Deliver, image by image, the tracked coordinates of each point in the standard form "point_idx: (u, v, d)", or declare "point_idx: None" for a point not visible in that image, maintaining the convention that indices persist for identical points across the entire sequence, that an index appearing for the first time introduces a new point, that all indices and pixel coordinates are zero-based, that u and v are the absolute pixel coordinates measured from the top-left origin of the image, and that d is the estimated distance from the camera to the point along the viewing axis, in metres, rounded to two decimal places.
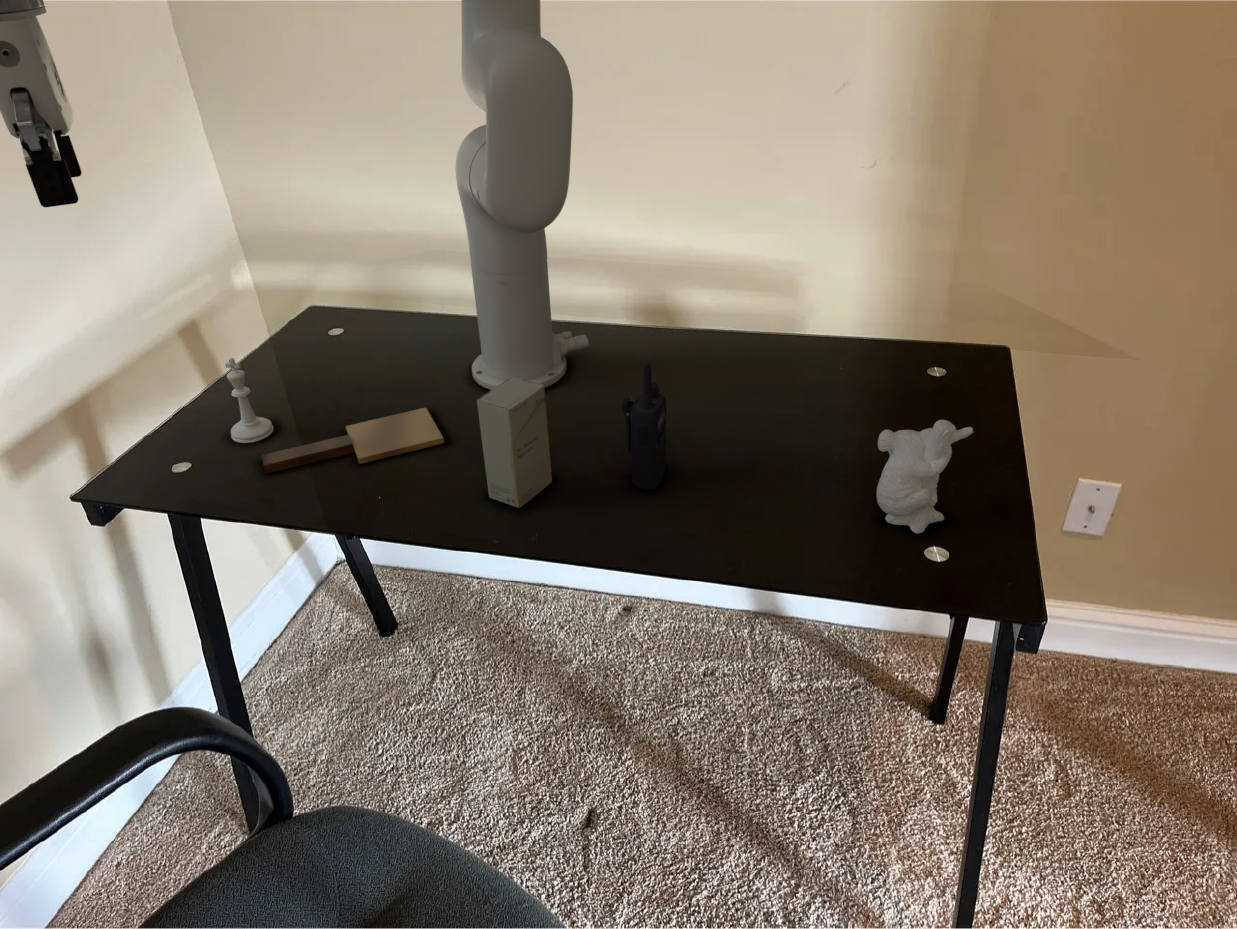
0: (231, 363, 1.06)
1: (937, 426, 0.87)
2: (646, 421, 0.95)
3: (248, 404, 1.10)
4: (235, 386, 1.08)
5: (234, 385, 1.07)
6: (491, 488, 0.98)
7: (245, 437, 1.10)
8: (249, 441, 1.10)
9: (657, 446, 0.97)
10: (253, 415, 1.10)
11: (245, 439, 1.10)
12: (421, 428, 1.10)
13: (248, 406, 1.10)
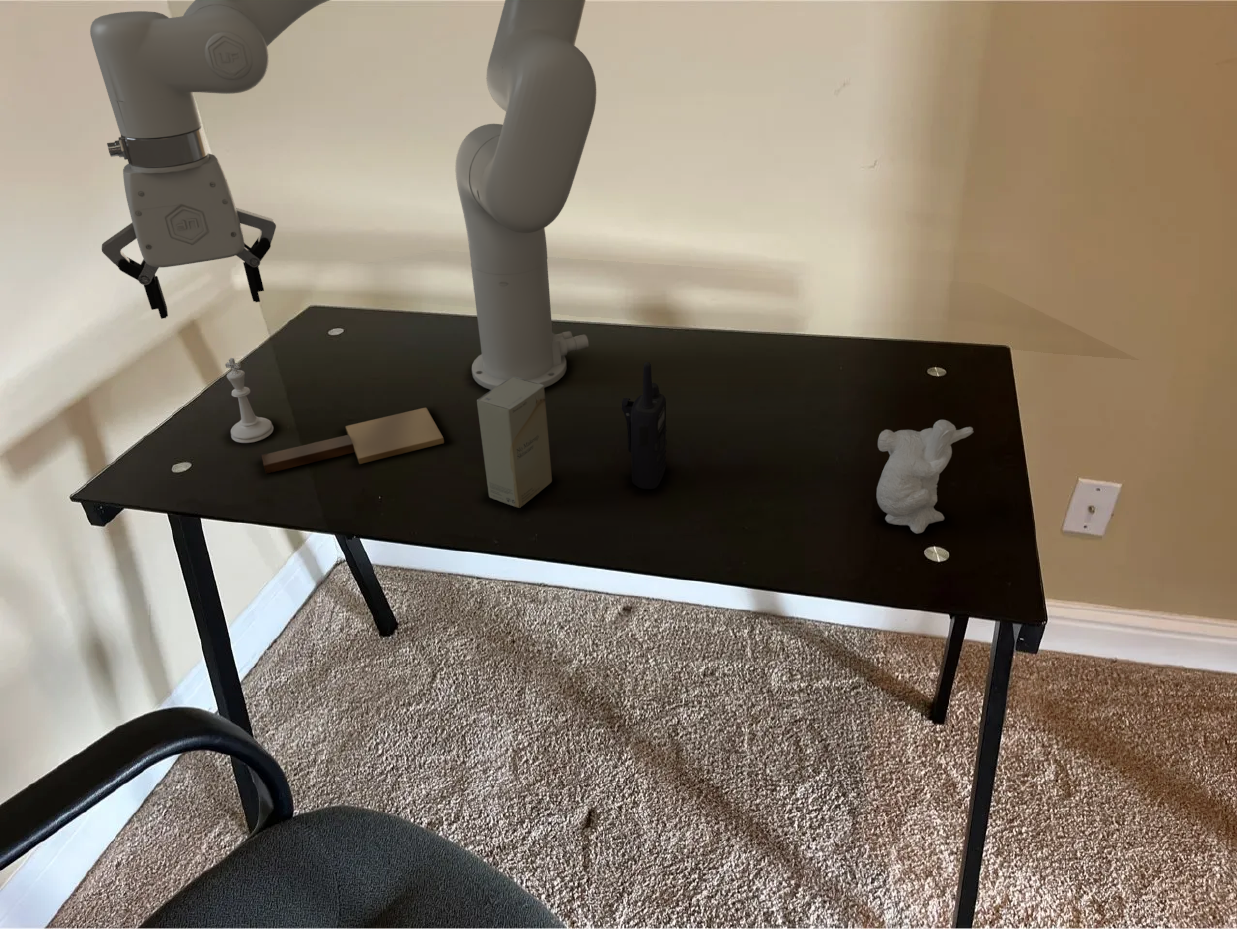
0: (231, 363, 1.06)
1: (937, 426, 0.87)
2: (646, 421, 0.95)
3: (248, 404, 1.10)
4: (235, 386, 1.08)
5: (234, 385, 1.07)
6: (491, 488, 0.98)
7: (245, 437, 1.10)
8: (249, 441, 1.10)
9: (657, 446, 0.97)
10: (253, 415, 1.10)
11: (245, 439, 1.10)
12: (421, 428, 1.10)
13: (248, 406, 1.10)
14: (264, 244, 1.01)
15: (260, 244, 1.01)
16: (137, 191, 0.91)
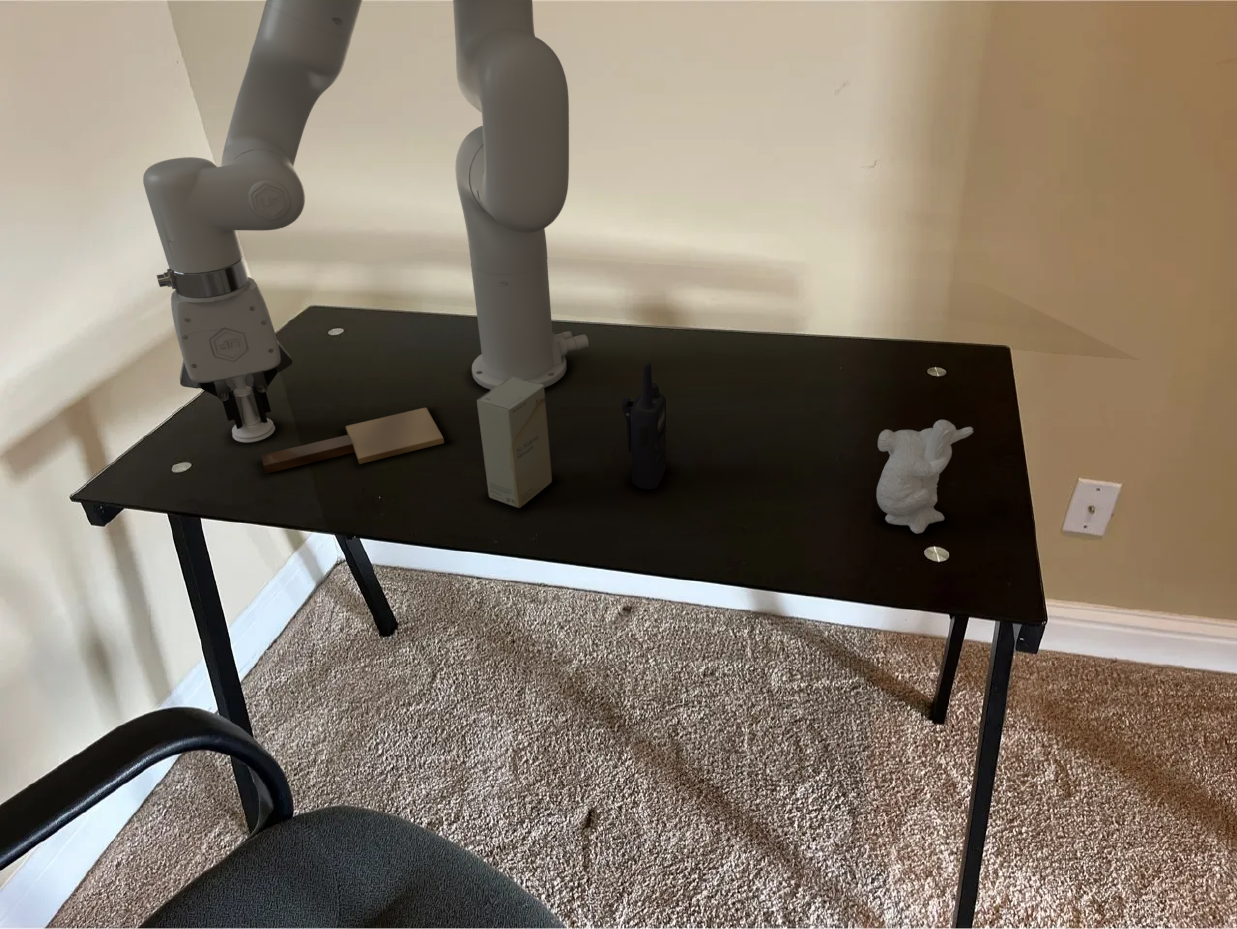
0: None
1: (937, 426, 0.87)
2: (646, 421, 0.95)
3: (250, 404, 1.10)
4: (237, 385, 1.08)
5: (236, 384, 1.08)
6: (491, 488, 0.98)
7: (246, 436, 1.10)
8: (250, 440, 1.10)
9: (657, 446, 0.97)
10: (255, 415, 1.10)
11: (247, 439, 1.10)
12: (421, 428, 1.10)
13: (250, 406, 1.10)
14: (271, 372, 1.08)
15: (267, 372, 1.08)
16: (184, 318, 0.99)
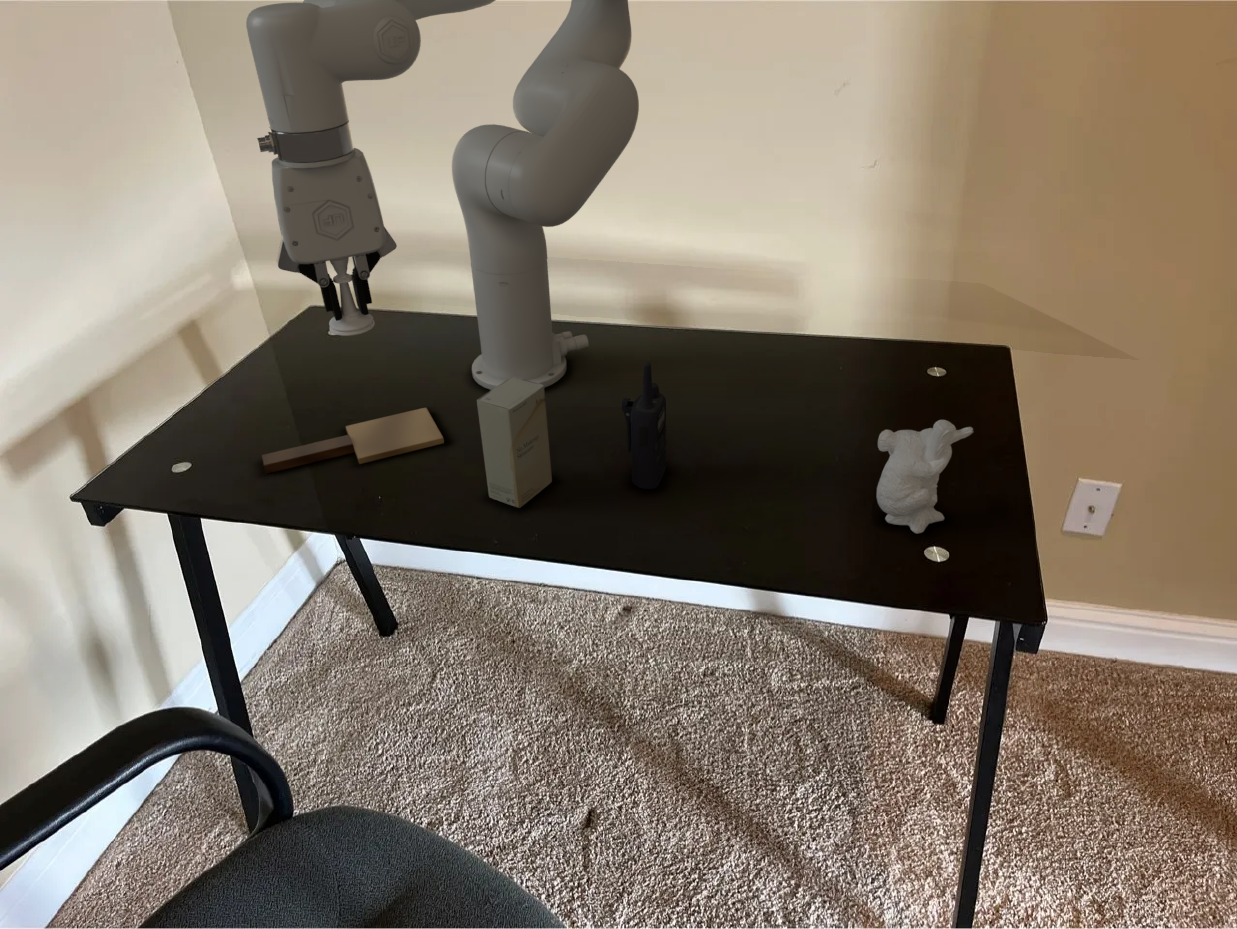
0: None
1: (937, 426, 0.87)
2: (646, 421, 0.95)
3: (350, 293, 1.00)
4: (338, 271, 0.98)
5: (337, 270, 0.98)
6: (491, 488, 0.98)
7: (346, 329, 1.00)
8: (350, 334, 1.00)
9: (657, 446, 0.97)
10: (354, 306, 1.01)
11: (346, 331, 1.00)
12: (421, 428, 1.10)
13: (350, 295, 1.00)
14: (374, 256, 0.99)
15: (370, 256, 0.98)
16: (287, 187, 0.90)
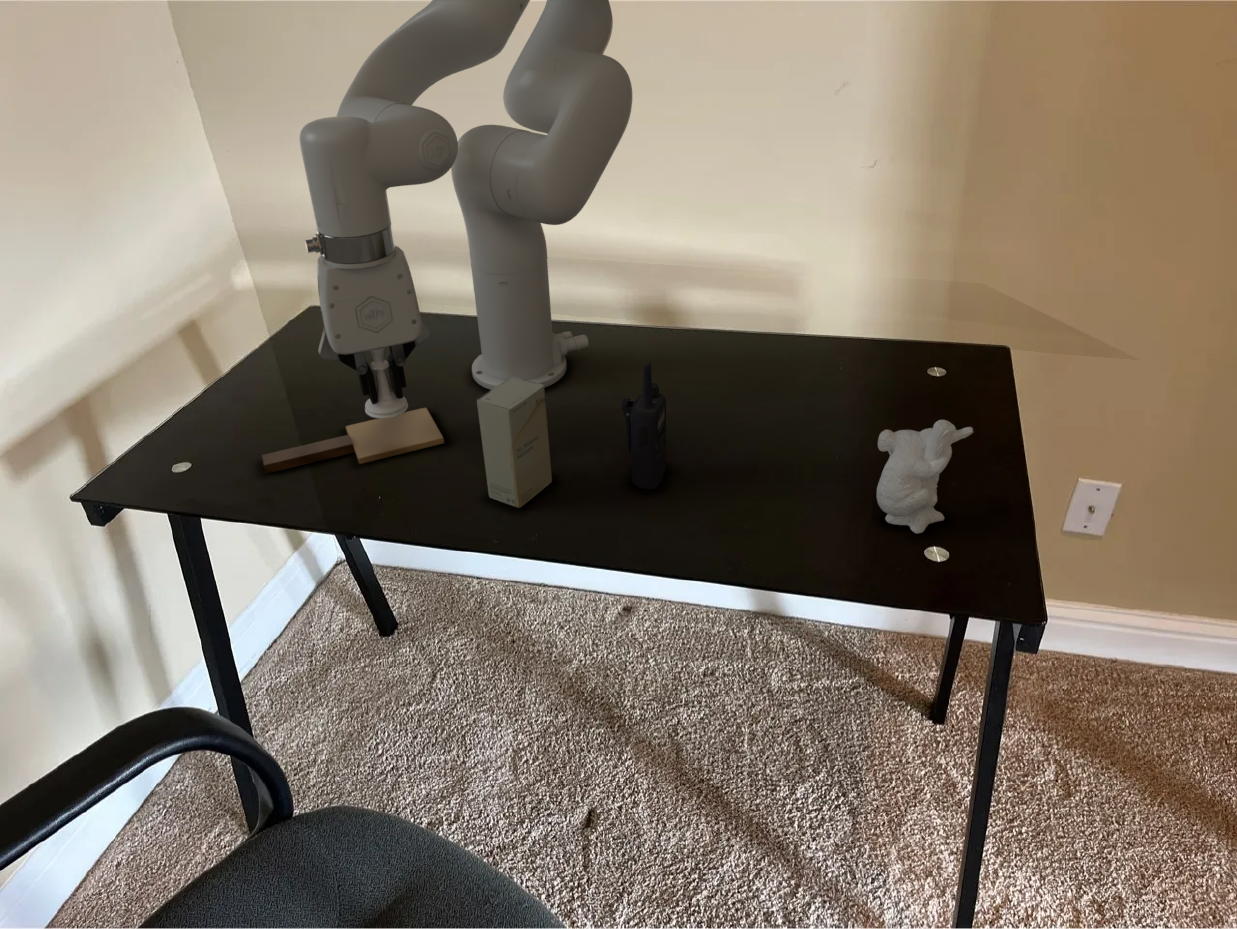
0: None
1: (937, 426, 0.87)
2: (646, 421, 0.95)
3: (386, 378, 1.05)
4: (376, 358, 1.03)
5: (375, 357, 1.03)
6: (491, 488, 0.98)
7: (382, 412, 1.05)
8: (385, 416, 1.05)
9: (657, 446, 0.97)
10: (390, 390, 1.06)
11: (382, 415, 1.05)
12: (421, 428, 1.10)
13: (386, 380, 1.05)
14: (410, 344, 1.04)
15: (406, 344, 1.04)
16: (332, 285, 0.95)
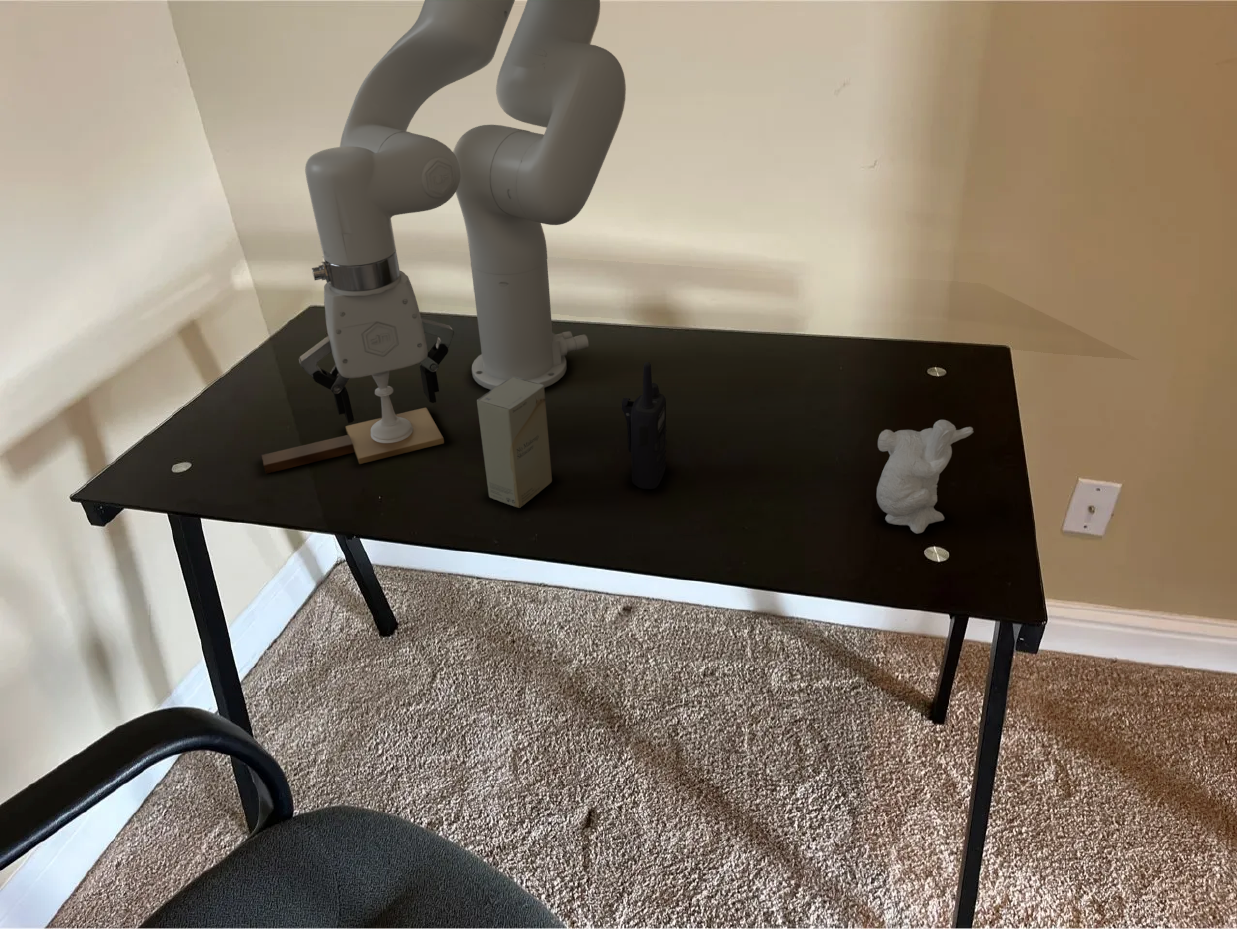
0: None
1: (937, 426, 0.87)
2: (646, 421, 0.95)
3: (390, 404, 1.07)
4: (380, 385, 1.05)
5: (379, 384, 1.05)
6: (491, 488, 0.98)
7: (387, 437, 1.07)
8: (391, 441, 1.07)
9: (657, 446, 0.97)
10: (394, 415, 1.08)
11: (387, 440, 1.07)
12: (421, 428, 1.10)
13: (390, 406, 1.07)
14: (443, 350, 1.06)
15: (439, 350, 1.06)
16: (339, 312, 0.97)
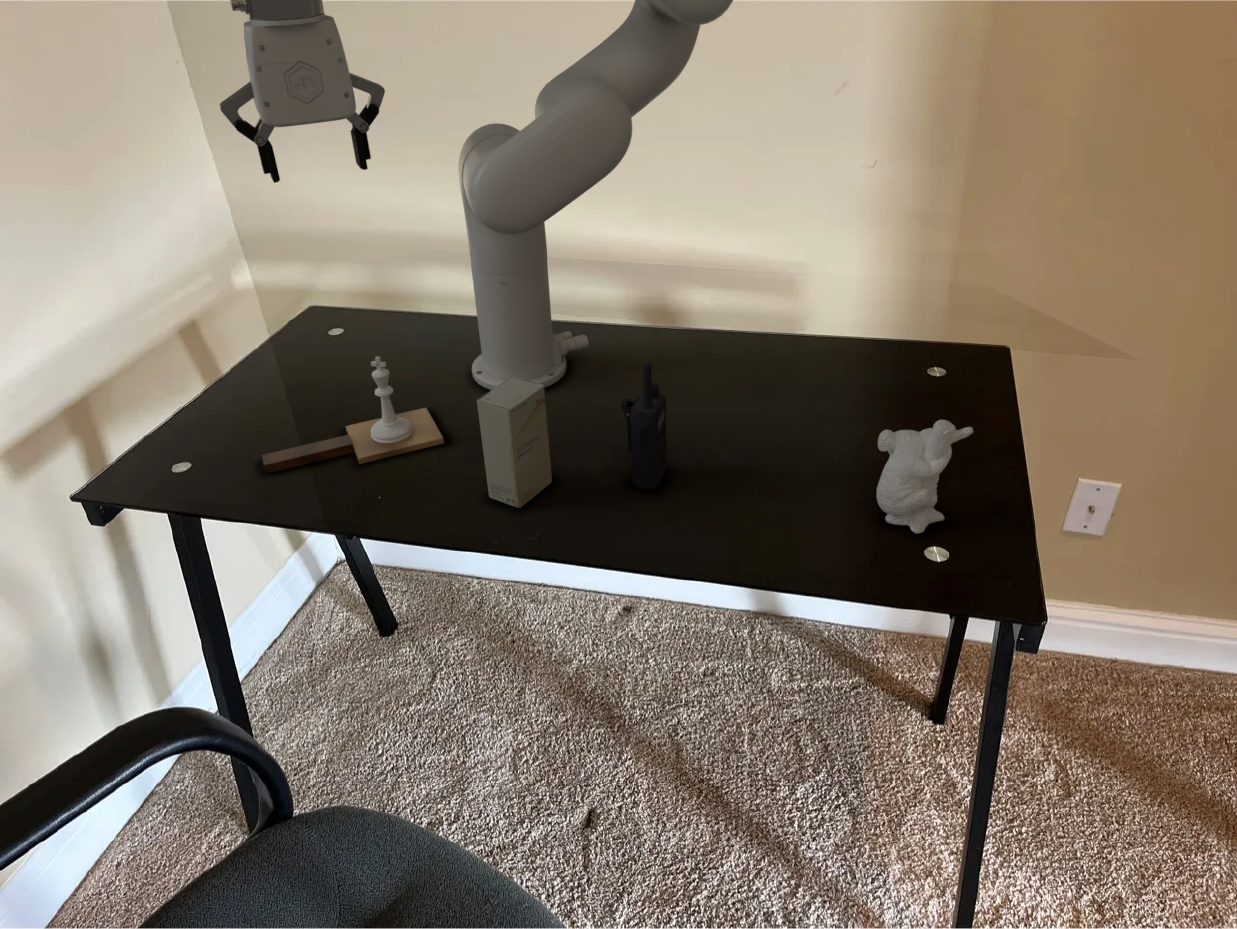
0: (377, 362, 1.04)
1: (937, 426, 0.87)
2: (646, 421, 0.95)
3: (390, 404, 1.07)
4: (380, 385, 1.05)
5: (379, 384, 1.05)
6: (491, 488, 0.98)
7: (387, 437, 1.07)
8: (391, 441, 1.07)
9: (657, 446, 0.97)
10: (394, 415, 1.08)
11: (387, 440, 1.07)
12: (421, 428, 1.10)
13: (390, 406, 1.07)
14: (373, 109, 1.02)
15: (369, 109, 1.02)
16: (258, 45, 0.93)
